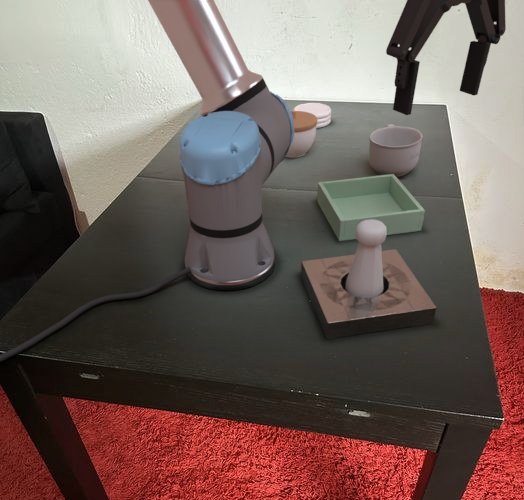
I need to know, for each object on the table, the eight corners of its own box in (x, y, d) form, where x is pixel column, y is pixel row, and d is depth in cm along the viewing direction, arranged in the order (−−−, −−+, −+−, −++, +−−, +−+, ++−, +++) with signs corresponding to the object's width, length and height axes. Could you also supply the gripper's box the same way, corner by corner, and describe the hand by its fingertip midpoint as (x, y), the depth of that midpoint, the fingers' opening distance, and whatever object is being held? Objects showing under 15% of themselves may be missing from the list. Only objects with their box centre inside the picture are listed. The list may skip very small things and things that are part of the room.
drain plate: (326, 339, 75) (328, 323, 73) (301, 276, 87) (301, 261, 85) (432, 323, 77) (436, 307, 75) (393, 264, 89) (395, 248, 86)
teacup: (416, 183, 110) (423, 145, 105) (364, 180, 112) (368, 143, 107) (416, 156, 120) (422, 120, 115) (368, 154, 122) (371, 118, 117)
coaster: (290, 117, 142) (290, 103, 139) (326, 114, 142) (327, 100, 140) (295, 130, 134) (296, 116, 132) (334, 127, 135) (335, 113, 132)
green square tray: (339, 241, 94) (340, 220, 92) (317, 201, 106) (317, 182, 103) (421, 230, 96) (425, 210, 93) (391, 193, 107) (393, 173, 105)
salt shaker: (339, 305, 81) (346, 230, 72) (349, 284, 85) (356, 211, 76) (377, 313, 79) (388, 237, 70) (385, 291, 83) (396, 217, 74)
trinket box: (325, 153, 123) (327, 112, 117) (288, 165, 119) (288, 123, 112) (297, 140, 130) (298, 100, 123) (262, 151, 125) (260, 110, 119)
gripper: (422, -84, 53) (390, 129, 68) (569, -96, 63) (514, 91, 78) (371, -87, 58) (352, 112, 72) (516, -99, 68) (473, 79, 82)
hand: (436, 102), depth 75 cm, fingers open, 13 cm apart
